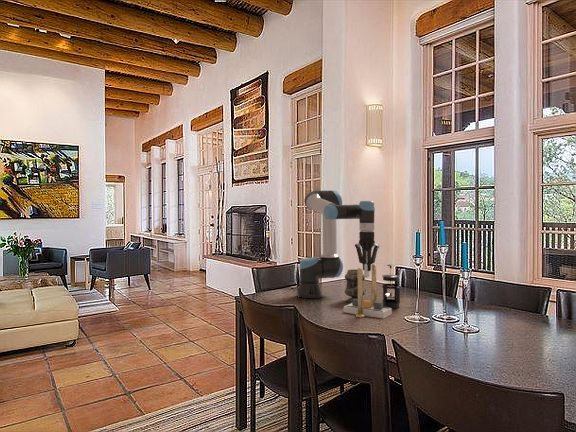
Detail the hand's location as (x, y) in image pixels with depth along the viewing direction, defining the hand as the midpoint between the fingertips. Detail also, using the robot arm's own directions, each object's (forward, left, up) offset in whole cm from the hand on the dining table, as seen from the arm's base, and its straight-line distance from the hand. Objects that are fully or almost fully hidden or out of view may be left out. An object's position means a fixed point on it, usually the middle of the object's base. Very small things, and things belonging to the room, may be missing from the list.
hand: (366, 277), depth 214 cm
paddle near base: (-6, 0, -16) cm, 17 cm away
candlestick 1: (0, -8, -19) cm, 20 cm away
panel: (0, 0, -19) cm, 19 cm away
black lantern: (+5, +19, -19) cm, 27 cm away
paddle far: (+6, 0, -16) cm, 17 cm away
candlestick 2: (0, +8, -19) cm, 20 cm away
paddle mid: (0, 0, -16) cm, 16 cm away
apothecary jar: (-18, +21, -19) cm, 33 cm away
